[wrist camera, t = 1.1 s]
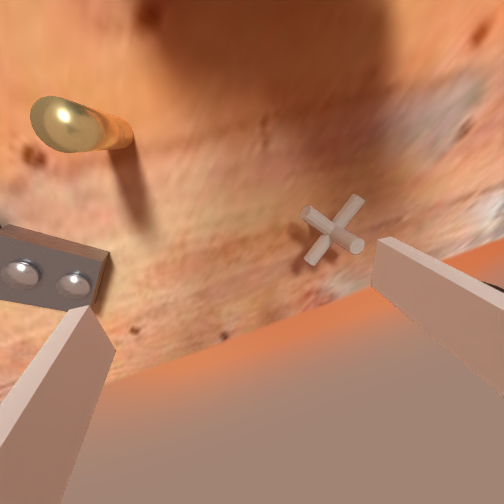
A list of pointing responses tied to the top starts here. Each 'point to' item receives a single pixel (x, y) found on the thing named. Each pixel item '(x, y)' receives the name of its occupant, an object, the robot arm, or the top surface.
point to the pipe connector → (333, 229)
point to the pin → (78, 126)
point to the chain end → (48, 270)
